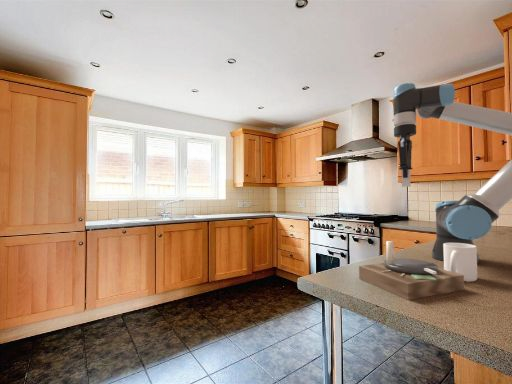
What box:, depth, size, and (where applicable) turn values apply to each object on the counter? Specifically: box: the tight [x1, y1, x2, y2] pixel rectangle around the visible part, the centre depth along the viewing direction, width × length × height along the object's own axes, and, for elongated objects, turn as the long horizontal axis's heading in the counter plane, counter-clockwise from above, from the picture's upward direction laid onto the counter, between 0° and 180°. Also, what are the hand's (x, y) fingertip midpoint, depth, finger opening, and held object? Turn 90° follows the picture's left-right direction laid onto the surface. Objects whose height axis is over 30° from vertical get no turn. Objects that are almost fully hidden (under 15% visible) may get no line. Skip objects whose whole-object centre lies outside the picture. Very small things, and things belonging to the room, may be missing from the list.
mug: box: [443, 243, 478, 282], centre depth 82 cm, size 12×8×10 cm
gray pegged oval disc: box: [383, 240, 439, 275], centre depth 78 cm, size 18×14×8 cm
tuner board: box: [358, 262, 465, 301], centre depth 78 cm, size 20×18×4 cm
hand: (406, 186), depth 102 cm, fingers closed
